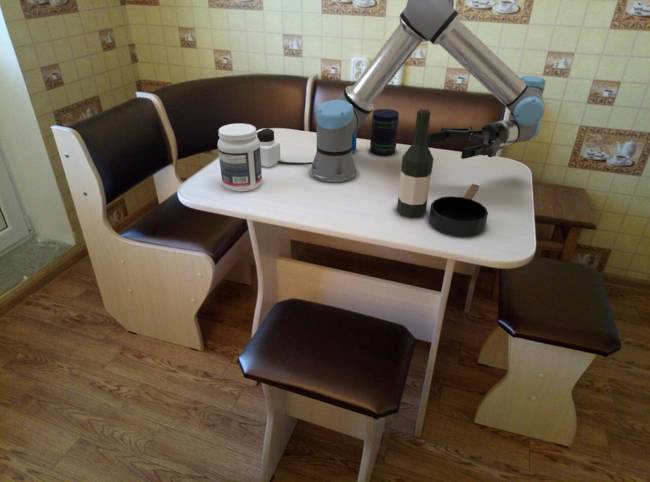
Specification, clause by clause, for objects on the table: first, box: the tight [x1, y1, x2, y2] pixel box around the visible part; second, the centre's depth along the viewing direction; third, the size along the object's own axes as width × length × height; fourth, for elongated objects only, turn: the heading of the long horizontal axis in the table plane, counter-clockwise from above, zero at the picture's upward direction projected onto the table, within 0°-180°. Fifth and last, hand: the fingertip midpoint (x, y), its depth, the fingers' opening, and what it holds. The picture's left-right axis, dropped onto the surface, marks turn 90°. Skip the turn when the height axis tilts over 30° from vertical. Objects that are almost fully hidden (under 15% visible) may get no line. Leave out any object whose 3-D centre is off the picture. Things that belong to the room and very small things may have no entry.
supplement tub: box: [217, 123, 263, 192], centre depth 142 cm, size 13×13×18 cm
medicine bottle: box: [256, 127, 282, 169], centre depth 159 cm, size 7×7×12 cm
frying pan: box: [428, 183, 489, 238], centre depth 130 cm, size 26×15×5 cm, turn 150°
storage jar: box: [369, 108, 400, 157], centre depth 169 cm, size 10×10×15 cm
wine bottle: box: [396, 106, 434, 219], centre depth 125 cm, size 8×8×30 cm
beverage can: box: [351, 129, 358, 153], centre depth 170 cm, size 6×6×12 cm
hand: (445, 146), depth 127 cm, fingers open, 13 cm apart
